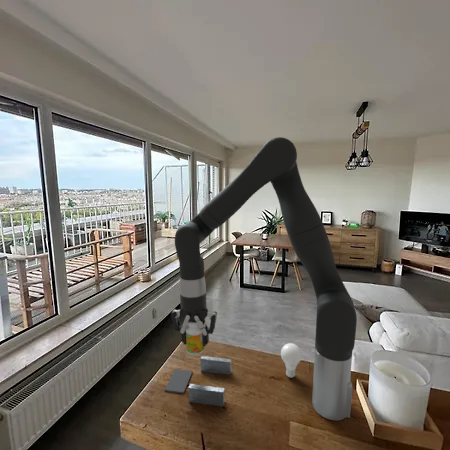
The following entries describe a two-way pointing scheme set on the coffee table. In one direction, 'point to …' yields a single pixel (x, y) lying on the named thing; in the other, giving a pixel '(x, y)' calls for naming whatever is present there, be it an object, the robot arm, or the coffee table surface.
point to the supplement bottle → (194, 339)
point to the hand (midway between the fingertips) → (195, 343)
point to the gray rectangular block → (178, 381)
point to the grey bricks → (206, 392)
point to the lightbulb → (291, 358)
